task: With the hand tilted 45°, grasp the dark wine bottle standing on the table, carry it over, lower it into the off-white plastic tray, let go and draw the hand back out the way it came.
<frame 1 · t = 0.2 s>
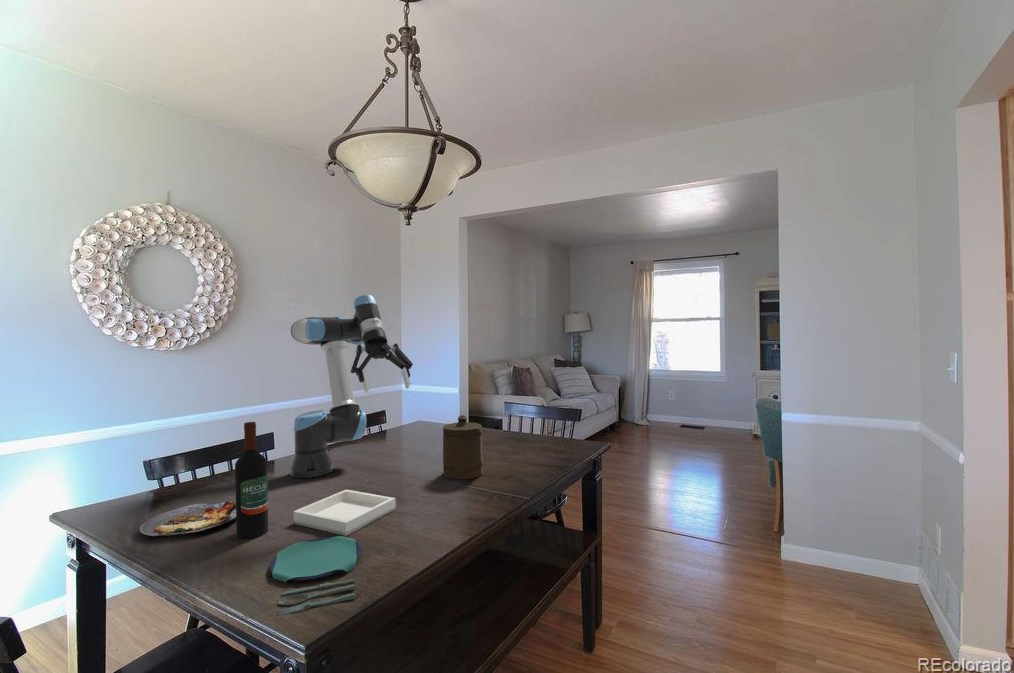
hand: (388, 388, 150), 36 cm above the table, tool tilted 35°, fingers open, 13 cm apart
wine bottle: (252, 533, 128), on the table
wooden container: (463, 474, 178), on the table
tray: (346, 516, 138), on the table
food plate: (196, 524, 136), on the table
cutlery set: (316, 575, 106), on the table
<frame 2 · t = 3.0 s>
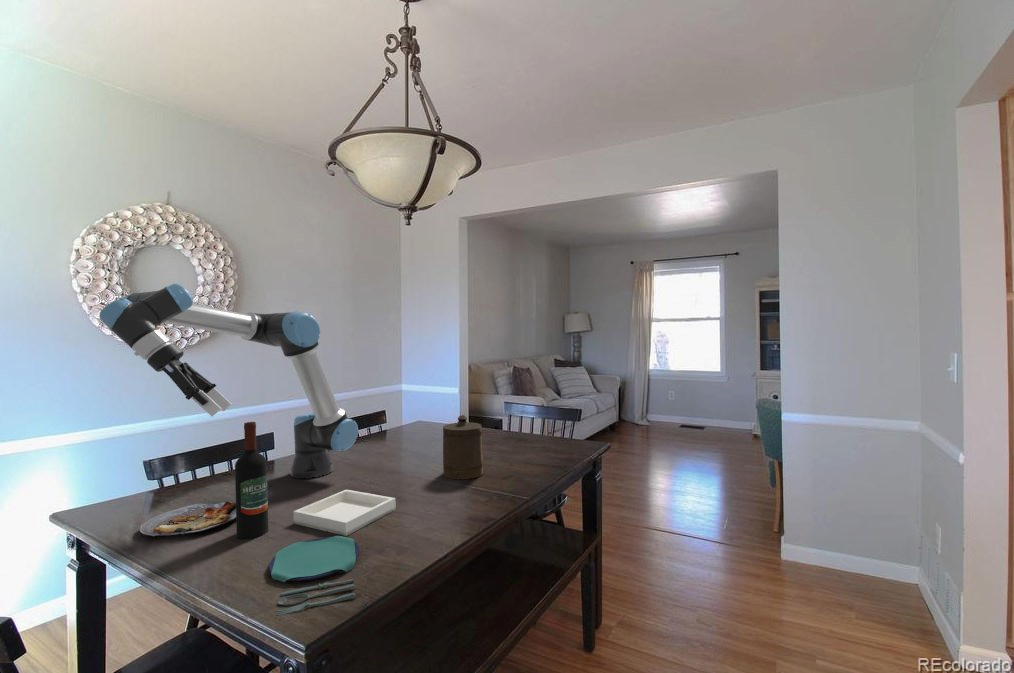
hand: (222, 410, 125), 34 cm above the table, tool tilted 40°, fingers open, 13 cm apart
nothing on the table moved.
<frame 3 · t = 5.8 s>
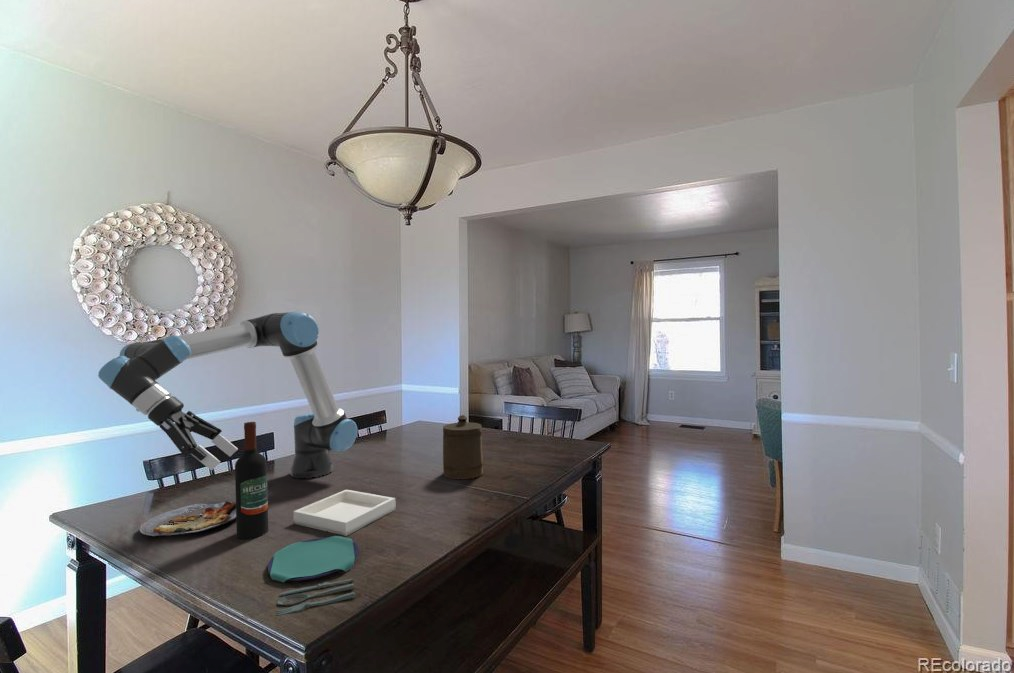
hand: (225, 459, 125), 21 cm above the table, tool tilted 45°, fingers open, 13 cm apart
nothing on the table moved.
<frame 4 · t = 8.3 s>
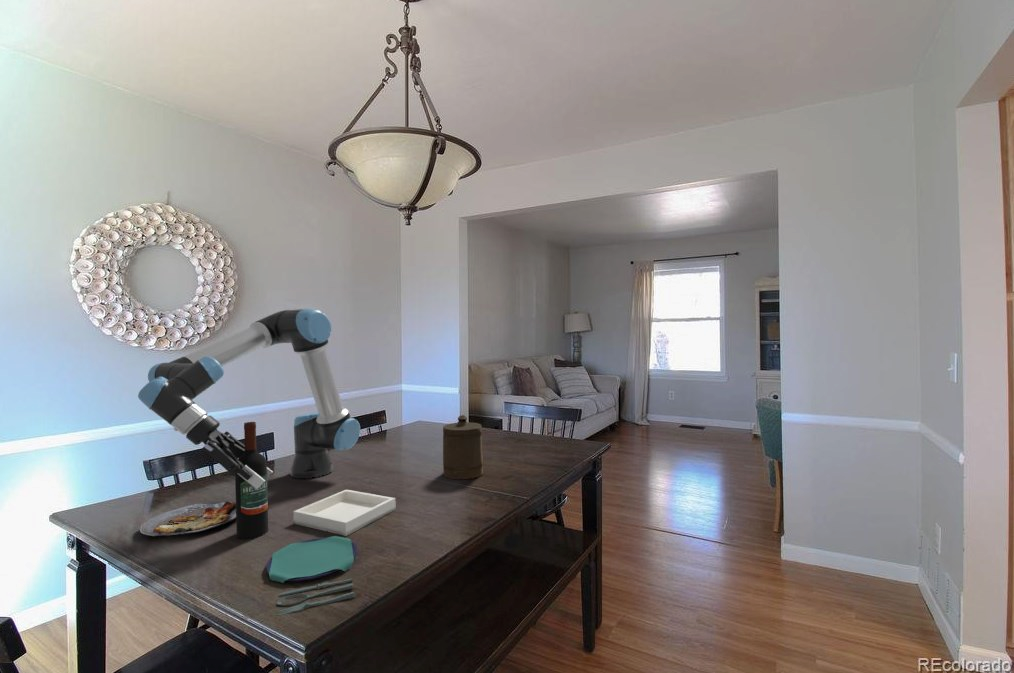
hand: (265, 480, 128), 14 cm above the table, tool tilted 45°, fingers closed on wine bottle, 7 cm apart
wine bottle: (252, 533, 128), on the table, touching gripper
everything else where it was.
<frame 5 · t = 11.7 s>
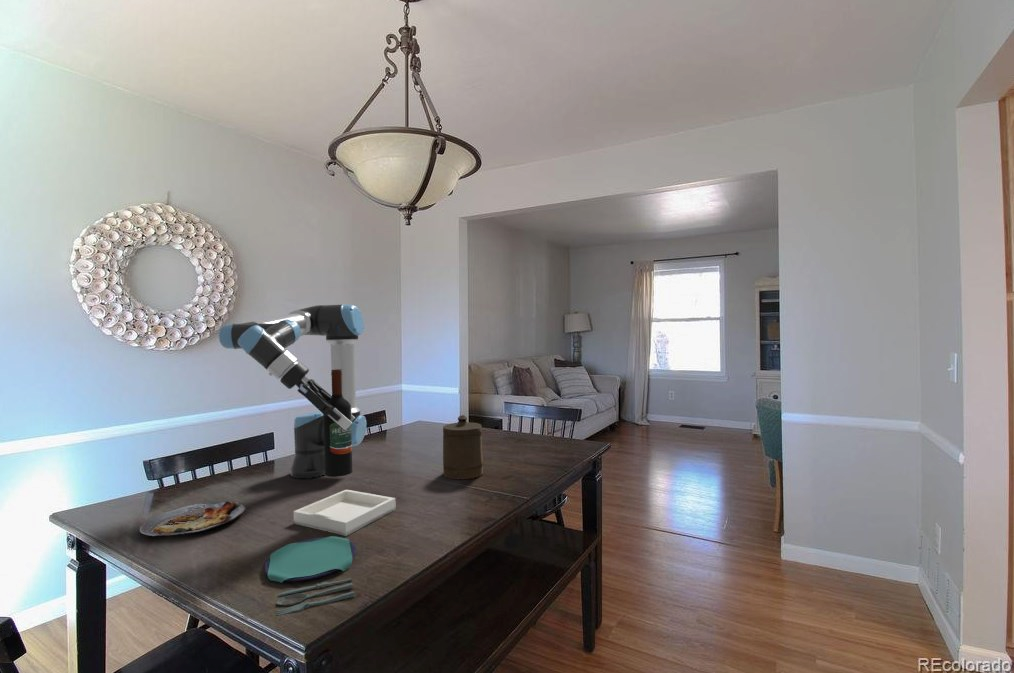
hand: (350, 423, 137), 27 cm above the table, tool tilted 45°, fingers closed on wine bottle, 7 cm apart
wine bottle: (338, 473, 137), point 13 cm above the table, touching gripper
everything else where it was.
when the fingers open (16 cm above the table, at t = 15.3 s): wine bottle drops 1 cm, resting on tray.
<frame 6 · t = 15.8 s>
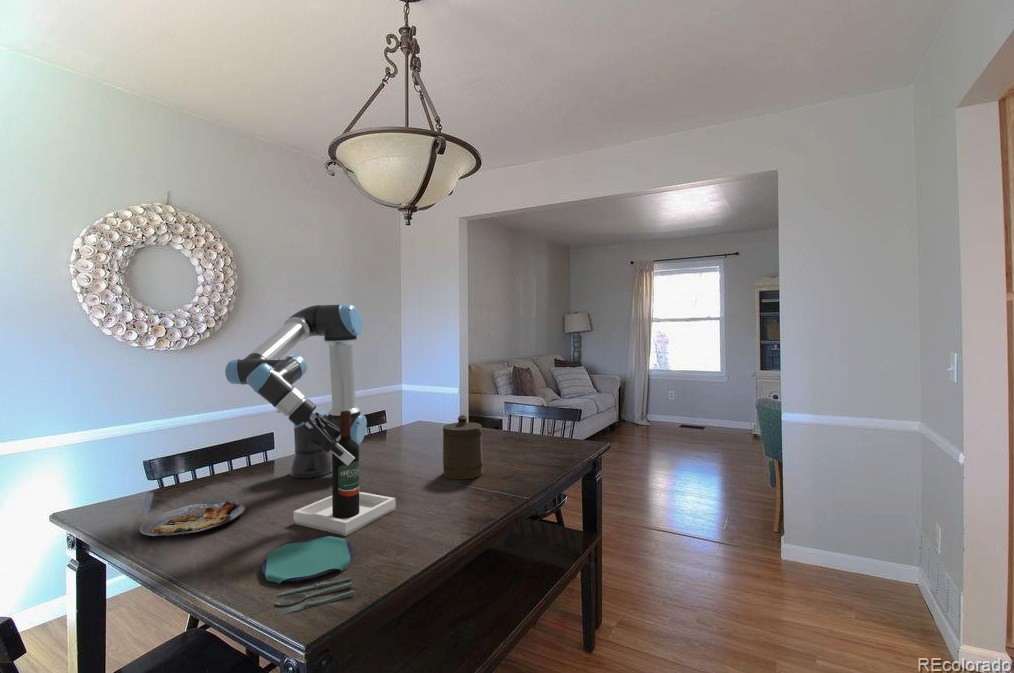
hand: (353, 455, 138), 18 cm above the table, tool tilted 45°, fingers open, 13 cm apart
wine bottle: (346, 513, 138), point 1 cm above the table, touching tray
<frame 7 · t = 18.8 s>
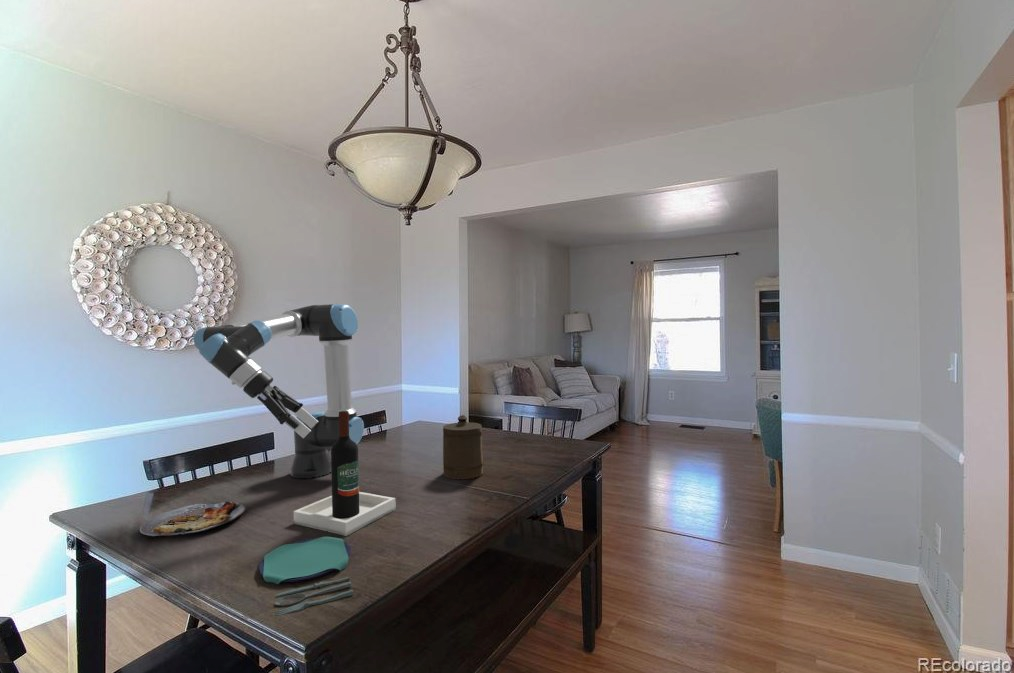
hand: (311, 429, 135), 26 cm above the table, tool tilted 45°, fingers open, 13 cm apart
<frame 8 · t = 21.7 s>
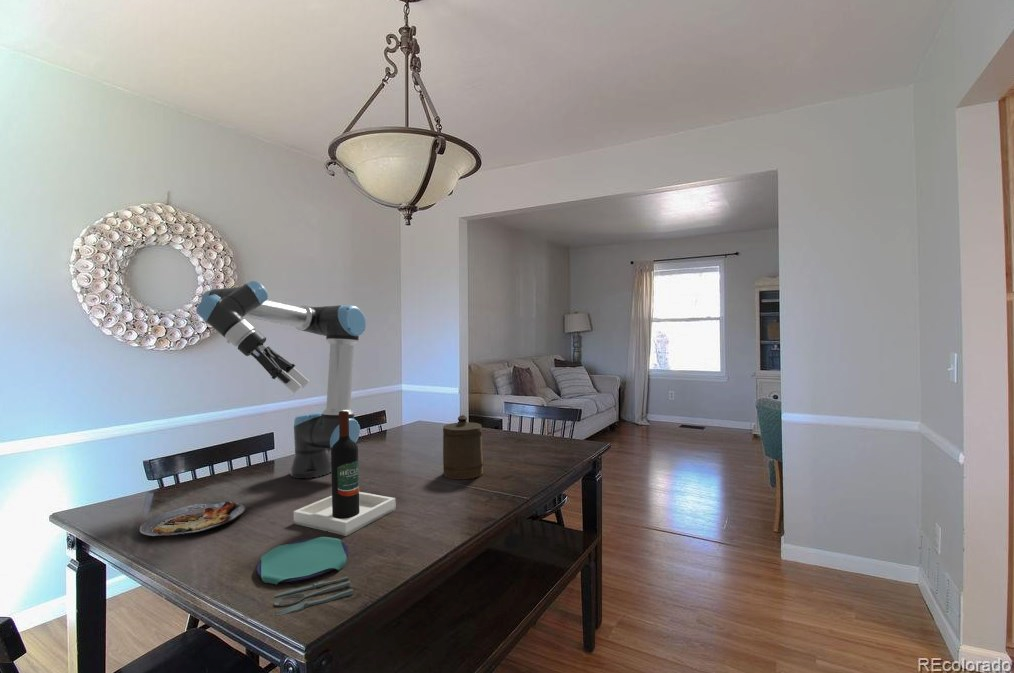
hand: (302, 387, 143), 38 cm above the table, tool tilted 45°, fingers open, 13 cm apart
at the end: wine bottle inside the target area on the tray (0.1 cm from its centre), point 0.6 cm above the tray's base; wine bottle tilted 0°; the gripper is holding nothing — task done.
